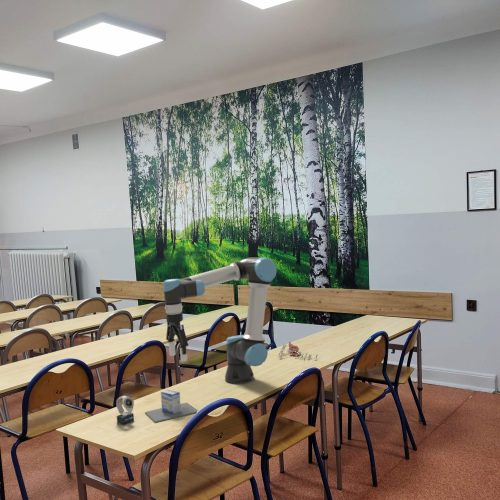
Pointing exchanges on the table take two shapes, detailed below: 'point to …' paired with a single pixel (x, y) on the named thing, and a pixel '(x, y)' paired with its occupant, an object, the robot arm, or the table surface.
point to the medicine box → (170, 401)
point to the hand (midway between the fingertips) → (178, 358)
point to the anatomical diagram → (293, 350)
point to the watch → (128, 404)
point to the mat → (162, 416)
